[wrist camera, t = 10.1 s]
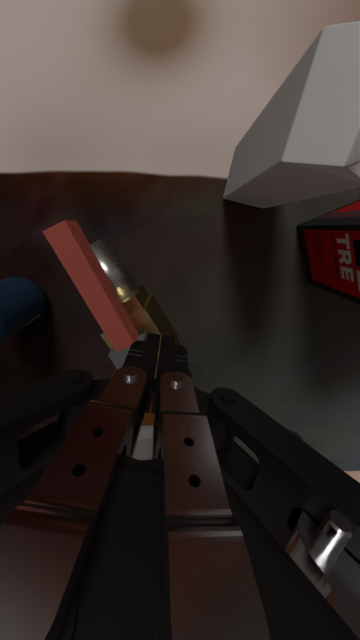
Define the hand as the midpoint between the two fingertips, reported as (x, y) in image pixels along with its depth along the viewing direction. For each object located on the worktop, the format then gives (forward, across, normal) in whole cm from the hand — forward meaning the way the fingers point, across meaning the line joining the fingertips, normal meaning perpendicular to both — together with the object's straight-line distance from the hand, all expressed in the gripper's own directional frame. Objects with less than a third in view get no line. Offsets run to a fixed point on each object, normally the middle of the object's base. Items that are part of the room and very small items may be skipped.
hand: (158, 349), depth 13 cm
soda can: (+24, +22, +7) cm, 33 cm away
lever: (+15, +6, +3) cm, 16 cm away
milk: (+24, -9, -14) cm, 29 cm away
